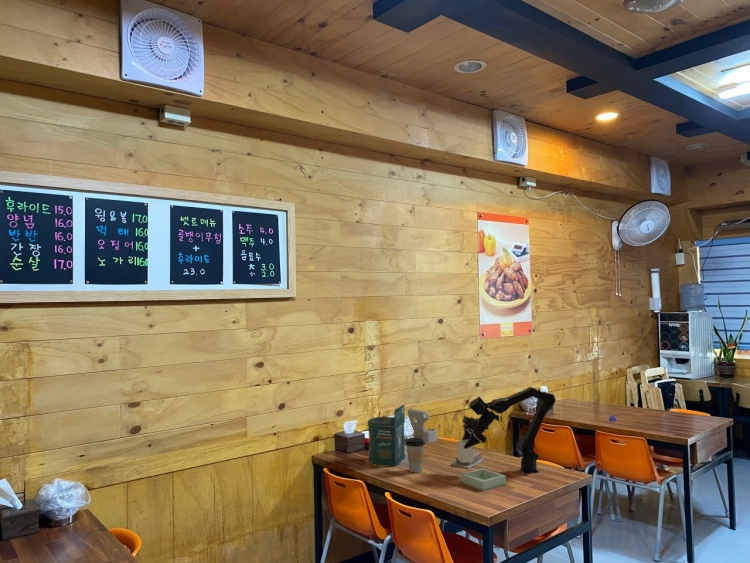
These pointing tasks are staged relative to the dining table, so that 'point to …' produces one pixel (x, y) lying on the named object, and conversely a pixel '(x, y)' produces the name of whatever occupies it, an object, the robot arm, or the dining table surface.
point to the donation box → (387, 439)
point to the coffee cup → (415, 454)
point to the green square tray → (483, 479)
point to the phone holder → (421, 426)
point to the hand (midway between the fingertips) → (462, 446)
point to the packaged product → (468, 465)
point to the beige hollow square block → (464, 452)
